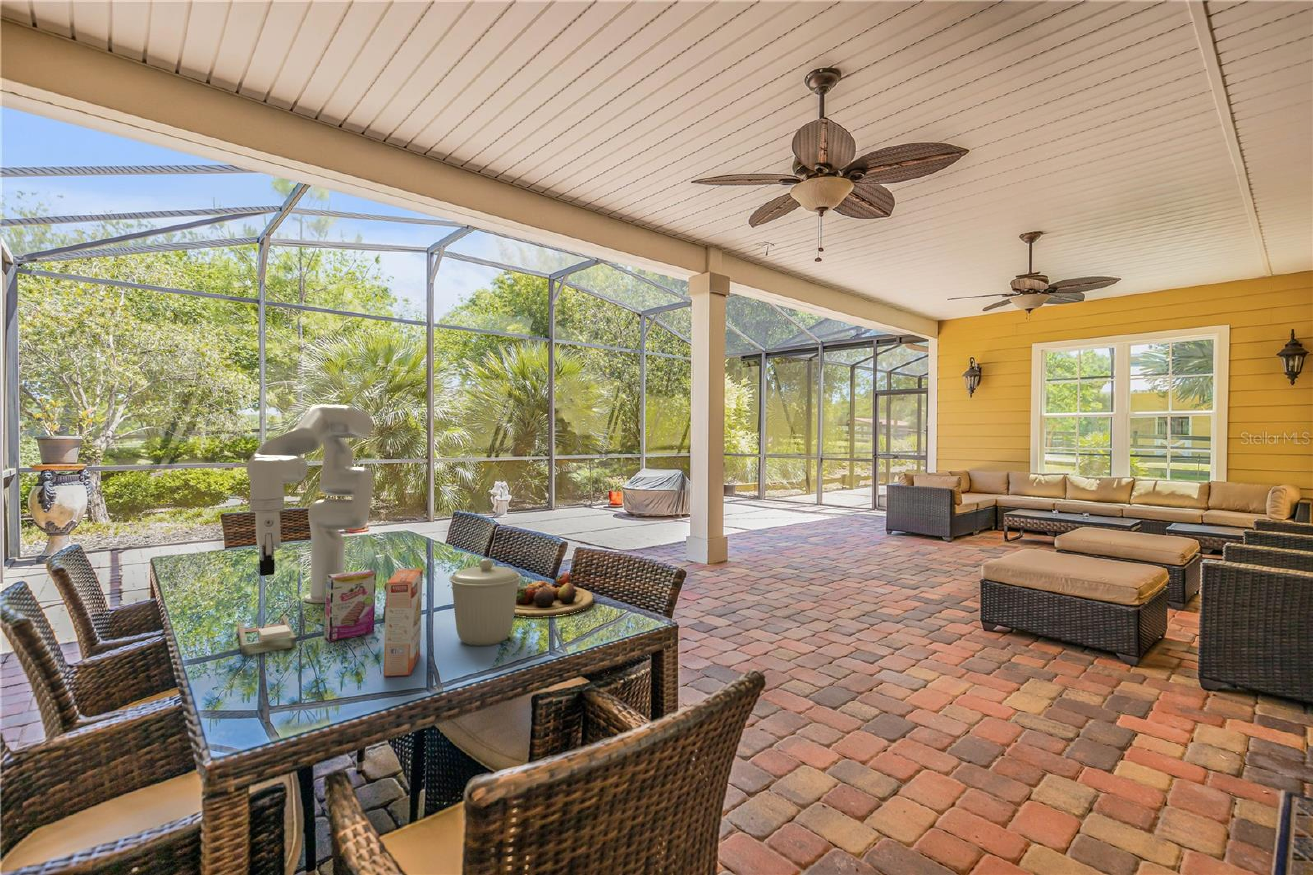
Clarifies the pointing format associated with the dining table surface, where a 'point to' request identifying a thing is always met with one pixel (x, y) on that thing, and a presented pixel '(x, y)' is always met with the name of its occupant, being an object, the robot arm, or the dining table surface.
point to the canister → (484, 602)
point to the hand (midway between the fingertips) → (267, 574)
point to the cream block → (273, 633)
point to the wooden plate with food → (551, 598)
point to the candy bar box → (349, 604)
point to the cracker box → (402, 622)
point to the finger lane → (266, 644)
